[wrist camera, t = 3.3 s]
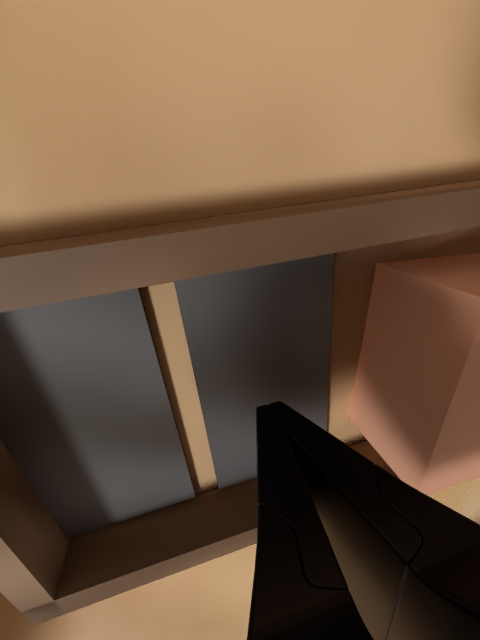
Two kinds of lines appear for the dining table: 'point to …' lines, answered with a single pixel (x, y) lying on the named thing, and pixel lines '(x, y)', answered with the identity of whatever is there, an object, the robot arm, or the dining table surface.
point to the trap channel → (149, 387)
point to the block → (423, 370)
